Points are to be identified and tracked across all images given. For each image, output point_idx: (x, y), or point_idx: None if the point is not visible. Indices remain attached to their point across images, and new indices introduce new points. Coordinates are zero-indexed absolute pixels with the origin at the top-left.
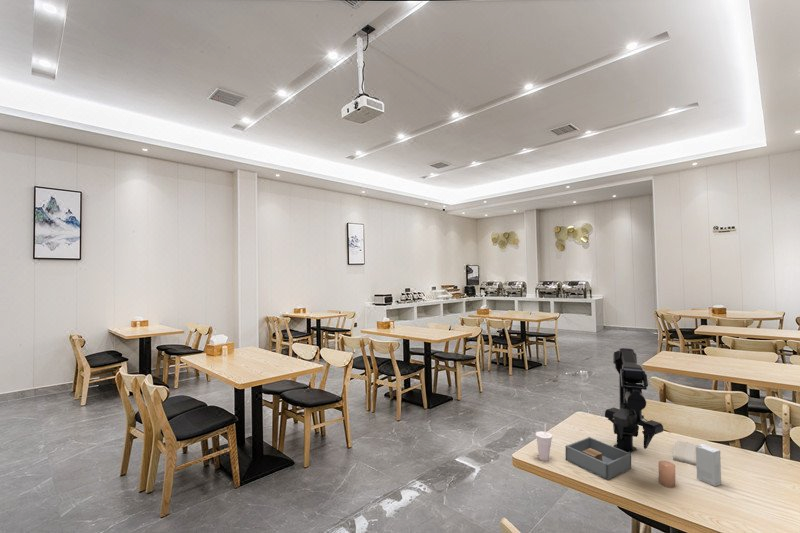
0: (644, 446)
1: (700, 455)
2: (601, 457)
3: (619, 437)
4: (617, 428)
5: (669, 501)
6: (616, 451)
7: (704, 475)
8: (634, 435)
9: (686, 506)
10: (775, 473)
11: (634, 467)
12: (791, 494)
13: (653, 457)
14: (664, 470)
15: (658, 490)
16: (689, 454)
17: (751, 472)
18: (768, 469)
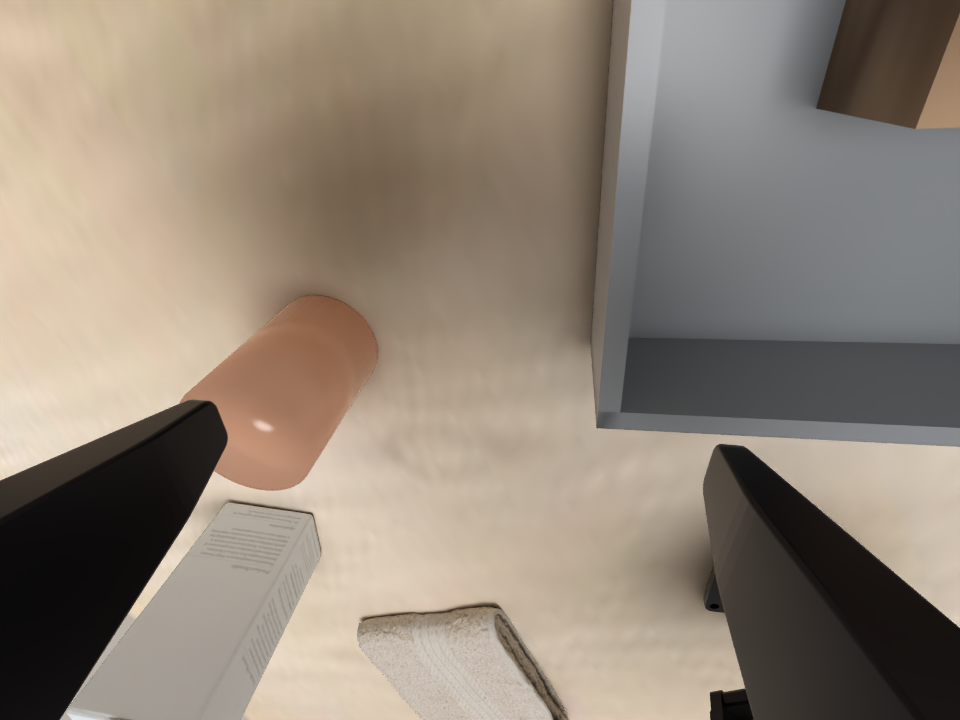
0: (163, 421)
1: (197, 659)
2: (884, 100)
3: (742, 459)
4: (941, 704)
5: (122, 101)
6: (766, 399)
7: (253, 538)
8: (732, 701)
9: (54, 153)
10: (259, 697)
11: (585, 379)
12: (134, 614)
13: (578, 572)
14: (235, 361)
15: (272, 194)
16: (451, 673)
17: (286, 670)
18: (286, 707)
